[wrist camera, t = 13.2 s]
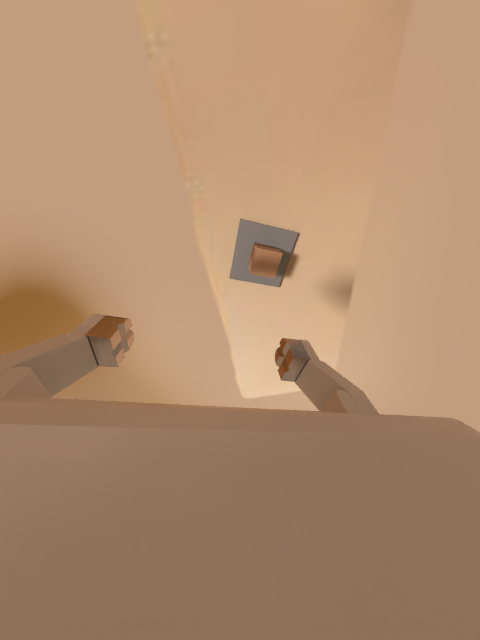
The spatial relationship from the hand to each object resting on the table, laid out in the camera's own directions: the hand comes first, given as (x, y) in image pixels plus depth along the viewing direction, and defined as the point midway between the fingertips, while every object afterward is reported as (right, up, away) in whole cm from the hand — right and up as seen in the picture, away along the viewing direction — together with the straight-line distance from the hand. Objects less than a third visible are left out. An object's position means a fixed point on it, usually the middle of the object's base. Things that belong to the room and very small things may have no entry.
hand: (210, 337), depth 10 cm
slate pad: (+6, +15, +28) cm, 32 cm away
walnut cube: (+6, +15, +28) cm, 32 cm away
